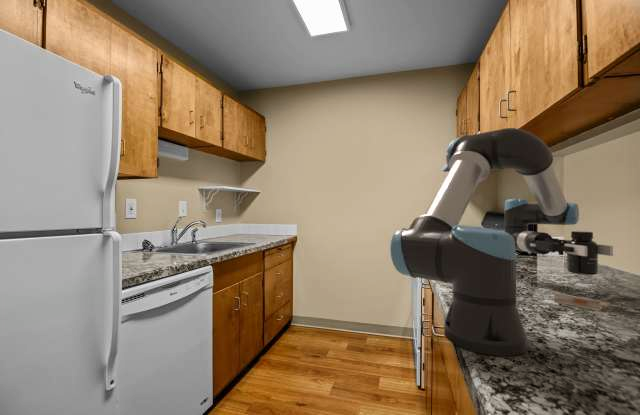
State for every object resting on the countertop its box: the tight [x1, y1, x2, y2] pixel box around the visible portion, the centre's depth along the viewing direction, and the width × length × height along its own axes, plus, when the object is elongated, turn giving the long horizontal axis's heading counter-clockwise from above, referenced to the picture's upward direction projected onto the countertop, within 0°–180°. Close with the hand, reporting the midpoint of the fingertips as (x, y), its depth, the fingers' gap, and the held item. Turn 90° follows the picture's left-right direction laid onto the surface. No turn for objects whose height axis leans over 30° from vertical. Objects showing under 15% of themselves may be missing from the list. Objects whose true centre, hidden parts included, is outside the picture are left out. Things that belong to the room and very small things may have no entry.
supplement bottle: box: [566, 230, 599, 276], centre depth 89 cm, size 7×7×12 cm
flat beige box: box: [553, 292, 612, 312], centre depth 89 cm, size 10×10×3 cm
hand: (598, 251), depth 84 cm, fingers closed on supplement bottle, 7 cm apart
